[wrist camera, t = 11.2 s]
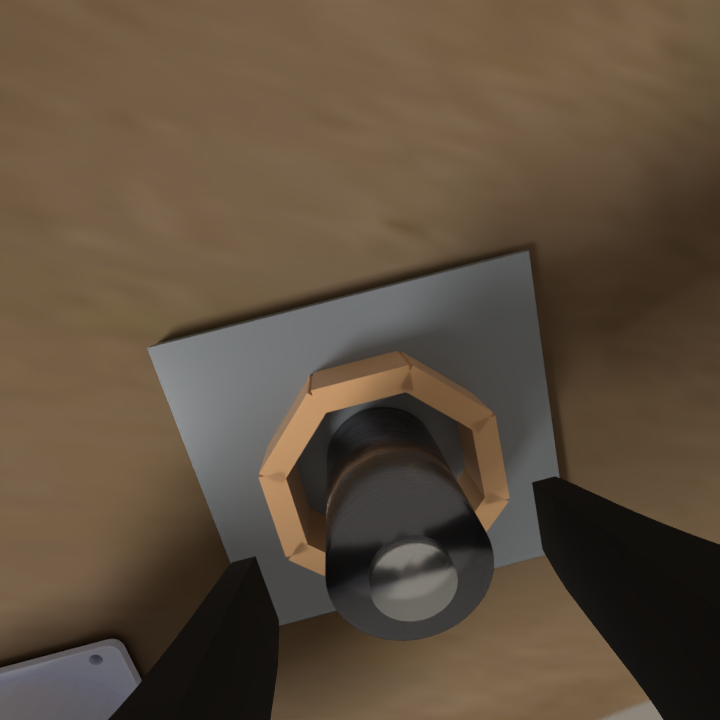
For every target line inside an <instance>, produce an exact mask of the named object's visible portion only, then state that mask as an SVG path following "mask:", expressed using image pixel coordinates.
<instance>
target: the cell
mask: <svg viewBox="0 0 720 720" xmlns="http://www.w3.org/2000/svg"><path fill="white" fill-rule="evenodd" d="M493 570H494V554H493V548H492V545H491V541H490V539H489V537H488V535H487V533H486V531H485V529H484V527H483V526H482V524H481V522H480V520H479V518H478V517H477V515H476V513H475V511H474V510H473V508H472V506H471V504H470V502H469V501H468V499H467V497H466V495H465V494H464V492H463V490H462V488H461V486H460V485H459V483H458V481H457V479H456V478H455V476H454V474H453V472H452V471H451V469H450V467H449V465H448V463H447V462H446V460H445V458H444V456H443V455H442V453H441V451H440V449H439V447H438V446H437V444H436V442H435V440H434V439H433V437H432V435H431V433H430V432H429V430H428V429H427V427H426V426H425V425H424V424H423V422H422V421H420V420H419V419H418V418H417V417H415V416H414V415H412V414H411V413H409V412H407V411H404V410H401V409H398V408H393V407H375V408H370V409H366V410H363V411H361V412H359V413H356V414H355V415H353V416H351V417H350V418H348V419H347V420H346V421H345V422H344V423H343V424H342V425H341V426H340V427H339V428H338V429H337V431H336V432H335V433H334V435H333V437H332V439H331V441H330V444H329V447H328V452H327V482H326V551H325V580H326V587H327V591H328V595H329V597H330V600H331V602H332V604H333V605H334V607H335V609H336V610H337V611H338V613H339V614H340V615H341V616H342V617H343V618H344V619H345V620H346V621H347V622H348V623H349V624H351V625H352V626H354V627H355V628H357V629H358V630H360V631H362V632H364V633H366V634H369V635H372V636H374V637H378V638H382V639H388V640H403V641H407V640H417V639H422V638H427V637H430V636H433V635H436V634H439V633H441V632H444V631H446V630H448V629H450V628H451V627H453V626H455V625H457V624H458V623H459V622H461V621H462V620H464V619H465V618H466V617H467V616H468V615H469V614H470V613H472V612H473V610H474V609H475V608H476V607H477V606H478V605H479V603H480V602H481V600H482V599H483V597H484V596H485V594H486V592H487V590H488V588H489V585H490V583H491V580H492V575H493Z"/></svg>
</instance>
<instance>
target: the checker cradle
mask: <svg viewBox="0 0 720 720" xmlns="http://www.w3.org/2000/svg"><path fill="white" fill-rule="evenodd" d="M147 349H148V352H149V354H150V357H151V359H152V362H153V364H154V367H155V370H156V372H157V375H158V377H159V380H160V383H161V385H162V388H163V390H164V393H165V395H166V398H167V401H168V403H169V406H170V408H171V411H172V414H173V416H174V419H175V421H176V424H177V426H178V429H179V432H180V434H181V437H182V439H183V442H184V444H185V447H186V450H187V452H188V455H189V457H190V460H191V463H192V465H193V468H194V470H195V473H196V475H197V478H198V481H199V483H200V486H201V488H202V491H203V494H204V496H205V499H206V501H207V504H208V506H209V509H210V512H211V514H212V517H213V519H214V522H215V525H216V527H217V530H218V532H219V535H220V537H221V540H222V543H223V545H224V548H225V550H226V553H227V556H228V558H229V561H230V563H232V562H235V561H239V560H243V559H246V558H250V557H254V556H256V559H257V562H258V564H259V567H260V570H261V573H262V575H263V578H264V581H265V583H266V586H267V589H268V592H269V594H270V597H271V600H272V603H273V605H274V608H275V611H276V614H277V616H278V619H279V626H281V625H285V624H288V623H292V622H296V621H299V620H303V619H307V618H311V617H314V616H318V615H322V614H326V613H329V612H333V611H337V610H336V609H335V607H334V605H333V604H332V602H331V600H330V597H329V595H328V591H327V587H326V580H325V551H326V482H327V452H328V447H329V444H330V441H331V439H332V437H333V435H334V433H335V432H336V431H337V429H338V428H339V427H340V426H341V425H342V424H343V423H344V422H345V421H346V420H347V419H348V418H350V417H351V416H353V415H355V414H356V413H359V412H361V411H363V410H366V409H370V408H375V407H393V408H398V409H401V410H404V411H407V412H409V413H411V414H412V415H414V416H415V417H417V418H418V419H419V420H420V421H422V422H423V424H424V425H425V426H426V427H427V429H428V430H429V432H430V433H431V435H432V437H433V439H434V440H435V442H436V444H437V446H438V447H439V449H440V451H441V453H442V455H443V456H444V458H445V460H446V462H447V463H448V465H449V467H450V469H451V471H452V472H453V474H454V476H455V478H456V479H457V481H458V483H459V485H460V486H461V488H462V490H463V492H464V494H465V495H466V497H467V499H468V501H469V502H470V504H471V506H472V508H473V510H474V511H475V513H476V515H477V517H478V518H479V520H480V522H481V524H482V526H483V527H484V529H485V531H486V533H487V535H488V537H489V539H490V541H491V545H492V548H493V554H494V568H498V567H502V566H505V565H509V564H513V563H516V562H520V561H524V560H528V559H531V558H535V557H539V556H543V555H545V553H544V551H543V550H542V544H541V537H540V531H539V524H538V518H537V512H536V505H535V499H534V492H533V486H532V482H535V481H539V480H543V479H546V478H550V477H554V476H556V477H558V478H560V477H559V470H558V463H557V455H556V448H555V441H554V433H553V426H552V418H551V411H550V404H549V396H548V389H547V381H546V374H545V367H544V359H543V352H542V344H541V337H540V330H539V322H538V315H537V308H536V300H535V293H534V285H533V278H532V271H531V263H530V256H529V251H517V252H513V253H509V254H505V255H501V256H497V257H493V258H489V259H485V260H481V261H477V262H474V263H470V264H466V265H462V266H458V267H454V268H450V269H446V270H442V271H438V272H434V273H430V274H426V275H423V276H419V277H415V278H411V279H407V280H403V281H399V282H395V283H391V284H387V285H383V286H379V287H375V288H372V289H368V290H364V291H360V292H356V293H352V294H348V295H344V296H340V297H336V298H332V299H328V300H325V301H321V302H317V303H313V304H309V305H305V306H301V307H297V308H293V309H289V310H285V311H281V312H277V313H274V314H270V315H266V316H262V317H258V318H254V319H250V320H246V321H242V322H238V323H234V324H230V325H226V326H223V327H219V328H215V329H211V330H207V331H203V332H199V333H195V334H191V335H187V336H183V337H179V338H175V339H172V340H168V341H164V342H160V343H156V344H154V345H152V346H150V347H148V348H147Z"/></svg>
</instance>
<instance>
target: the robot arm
mask: <svg viewBox="0 0 720 720" xmlns="http://www.w3.org/2000/svg"><path fill="white" fill-rule="evenodd" d="M532 486H533V492H534V499H535V505H536V512H537V518H538V524H539V531H540V537H541V544H542V550H543V551H544V553H545V555H546V556H547V558H548V560H549V562H550V563H551V565H552V567H553V568H554V570H555V572H556V573H557V575H558V577H559V578H560V580H561V581H562V583H563V585H564V586H565V588H566V589H567V590H568V592H569V593H570V595H571V596H572V597H573V599H574V600H575V601H576V602H577V604H578V605H579V606H580V608H581V609H582V610H583V612H584V613H585V614H586V616H587V617H588V618H589V620H590V621H591V622H592V623H593V625H594V626H595V627H596V629H597V630H598V631H599V633H600V634H601V635H602V636H603V638H604V639H605V640H606V642H607V643H608V644H609V646H610V647H611V648H612V649H613V651H614V652H615V653H616V655H617V656H618V657H619V659H620V660H621V661H622V662H623V664H624V665H625V666H626V668H627V669H628V670H629V671H630V673H631V674H632V675H633V677H634V678H635V679H636V681H637V682H638V683H639V685H640V686H641V688H642V689H643V690H644V692H645V693H646V695H647V696H648V697H649V699H650V700H651V701H652V703H653V704H654V706H655V707H656V709H657V710H658V712H659V713H660V715H661V716H662V718H663V720H720V544H716V543H714V542H711V541H708V540H705V539H702V538H699V537H697V536H694V535H691V534H689V533H686V532H684V531H681V530H678V529H676V528H673V527H671V526H668V525H665V524H663V523H660V522H658V521H656V520H653V519H651V518H648V517H646V516H643V515H641V514H639V513H636V512H634V511H632V510H629V509H627V508H625V507H623V506H620V505H618V504H616V503H614V502H611V501H609V500H607V499H605V498H603V497H601V496H598V495H596V494H594V493H592V492H590V491H587V490H585V489H583V488H581V487H579V486H577V485H574V484H572V483H570V482H568V481H565V480H563V479H561V478H558V477H556V476H554V477H550V478H546V479H543V480H539V481H535V482H532ZM278 646H279V619H278V616H277V614H276V611H275V608H274V605H273V603H272V600H271V597H270V594H269V592H268V589H267V586H266V583H265V581H264V578H263V575H262V573H261V570H260V567H259V564H258V562H257V559H256V556H254V557H250V558H246V559H243V560H239V561H235V562H232V563H231V564H230V565H229V567H228V568H227V569H226V571H225V572H224V573H223V575H222V576H221V577H220V579H219V580H218V581H217V583H216V584H215V586H214V587H213V588H212V590H211V591H210V593H209V594H208V595H207V597H206V598H205V600H204V601H203V602H202V604H201V605H200V606H199V608H198V609H197V611H196V612H195V613H194V615H193V616H192V617H191V619H190V620H189V621H188V623H187V624H186V625H185V627H184V628H183V629H182V631H181V632H180V634H179V635H178V636H177V637H176V639H175V640H174V641H173V642H172V644H171V645H170V646H169V648H168V649H167V650H166V651H165V653H164V654H163V655H162V656H161V658H160V659H159V660H158V661H157V663H156V664H155V665H154V666H153V668H152V669H151V670H150V671H149V673H148V674H147V675H146V676H145V678H144V679H143V680H141V678H140V676H139V674H138V672H137V670H136V668H135V666H134V664H133V662H132V660H131V658H130V656H129V654H128V652H127V650H126V648H125V646H124V644H123V643H122V642H121V641H119V640H117V639H107V640H103V641H100V642H96V643H92V644H88V645H85V646H81V647H77V648H73V649H69V650H66V651H62V652H58V653H54V654H51V655H47V656H43V657H39V658H36V659H32V660H28V661H24V662H21V663H17V664H13V665H9V666H6V667H2V668H0V720H270V718H271V711H272V704H273V697H274V690H275V682H276V675H277V667H278Z"/></svg>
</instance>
